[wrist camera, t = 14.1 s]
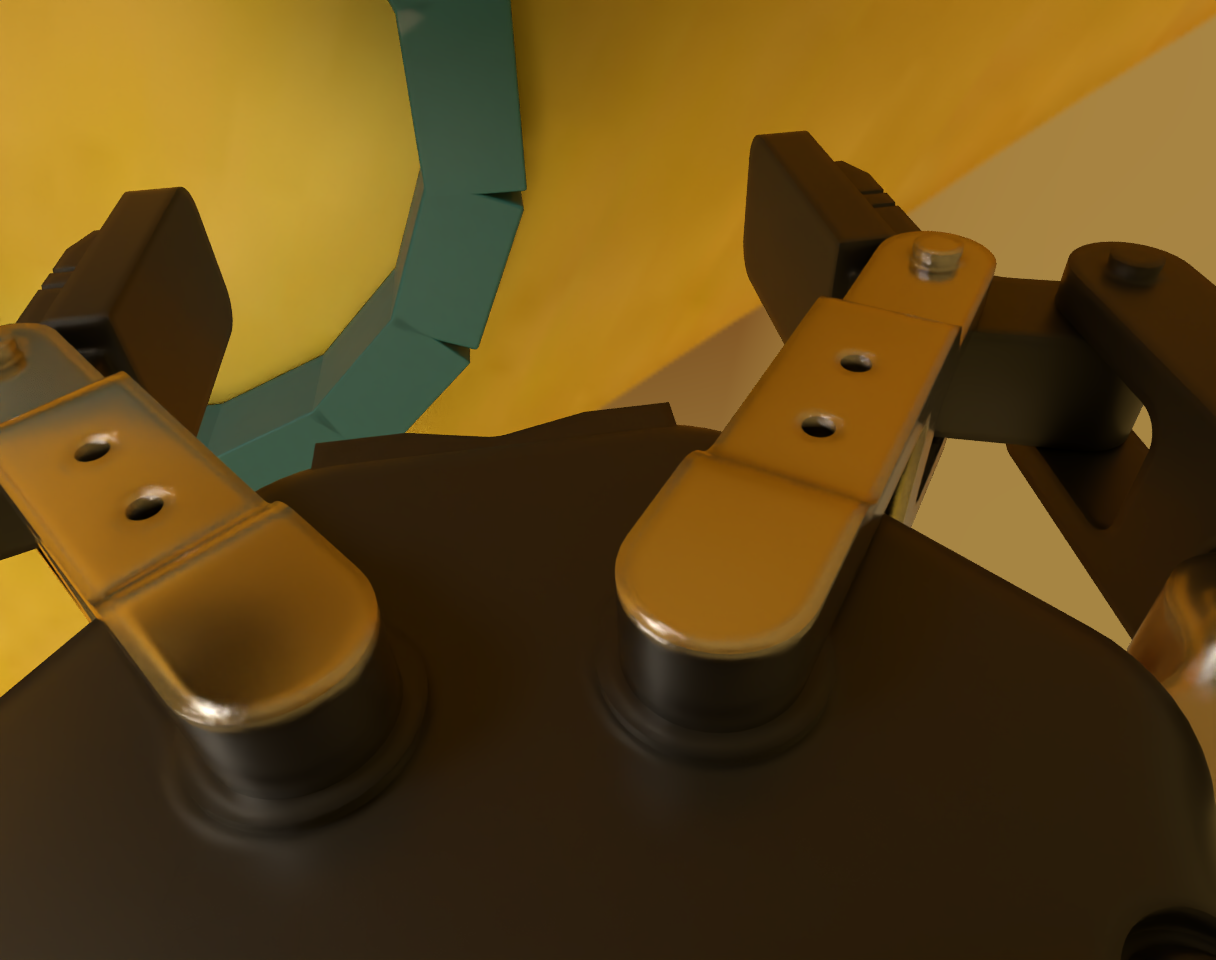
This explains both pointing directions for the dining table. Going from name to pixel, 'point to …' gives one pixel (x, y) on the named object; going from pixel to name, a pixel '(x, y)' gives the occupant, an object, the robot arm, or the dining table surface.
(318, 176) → the dining table surface
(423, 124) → the ring
